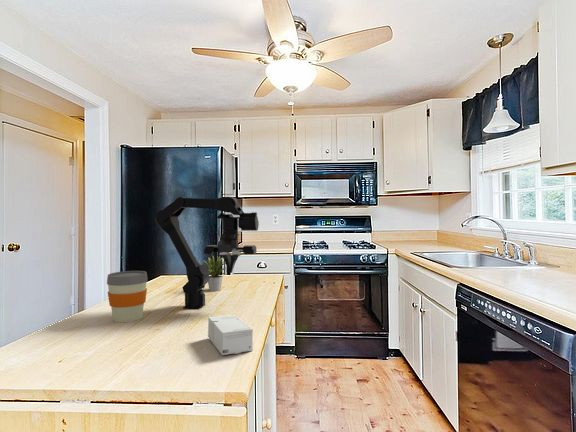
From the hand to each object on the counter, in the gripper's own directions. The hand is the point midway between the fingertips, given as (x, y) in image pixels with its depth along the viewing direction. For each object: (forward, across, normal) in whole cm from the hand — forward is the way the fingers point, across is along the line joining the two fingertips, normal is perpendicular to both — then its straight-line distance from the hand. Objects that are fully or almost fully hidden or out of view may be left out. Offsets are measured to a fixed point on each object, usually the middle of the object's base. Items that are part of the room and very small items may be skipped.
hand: (230, 272), depth 131 cm
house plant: (+13, -15, +28) cm, 34 cm away
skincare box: (+10, +5, -30) cm, 32 cm away
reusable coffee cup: (+13, -31, -16) cm, 37 cm away
